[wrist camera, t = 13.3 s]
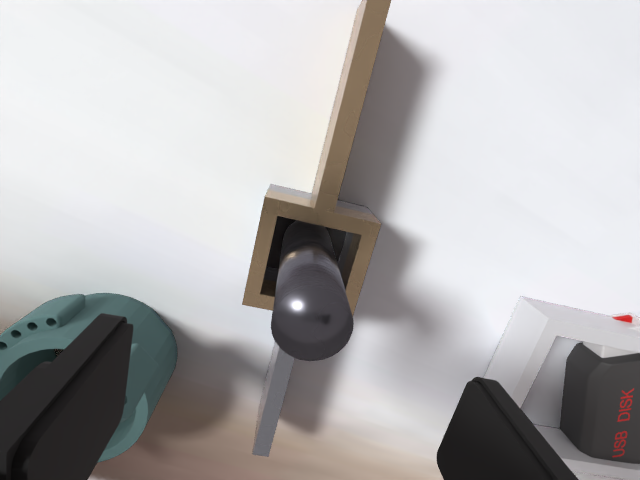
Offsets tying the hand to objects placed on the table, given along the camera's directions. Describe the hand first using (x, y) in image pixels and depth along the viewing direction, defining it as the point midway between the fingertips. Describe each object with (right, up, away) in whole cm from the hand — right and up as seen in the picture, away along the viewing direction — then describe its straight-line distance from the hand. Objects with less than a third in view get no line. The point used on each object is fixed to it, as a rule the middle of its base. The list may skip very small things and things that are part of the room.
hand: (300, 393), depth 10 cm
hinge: (0, +4, +13) cm, 14 cm away
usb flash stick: (+22, -7, +18) cm, 29 cm away
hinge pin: (0, +4, +13) cm, 14 cm away
